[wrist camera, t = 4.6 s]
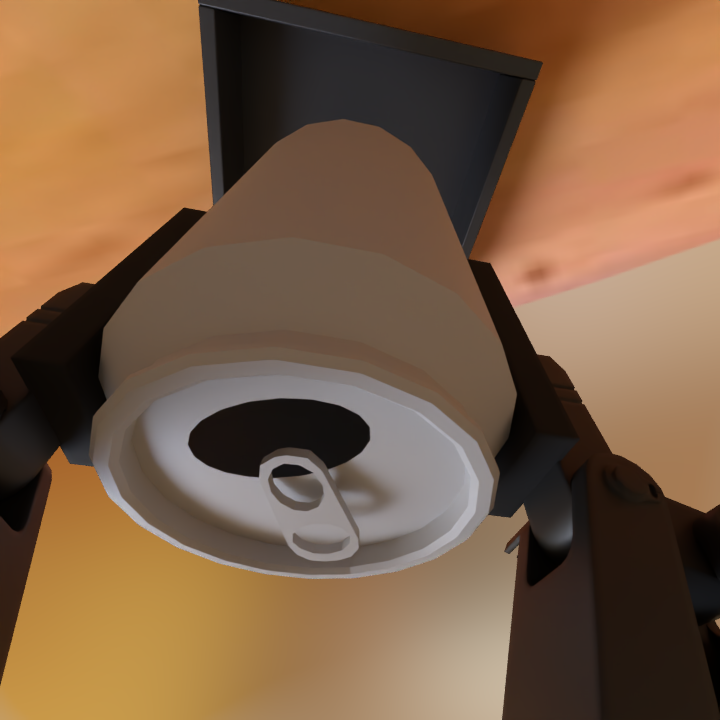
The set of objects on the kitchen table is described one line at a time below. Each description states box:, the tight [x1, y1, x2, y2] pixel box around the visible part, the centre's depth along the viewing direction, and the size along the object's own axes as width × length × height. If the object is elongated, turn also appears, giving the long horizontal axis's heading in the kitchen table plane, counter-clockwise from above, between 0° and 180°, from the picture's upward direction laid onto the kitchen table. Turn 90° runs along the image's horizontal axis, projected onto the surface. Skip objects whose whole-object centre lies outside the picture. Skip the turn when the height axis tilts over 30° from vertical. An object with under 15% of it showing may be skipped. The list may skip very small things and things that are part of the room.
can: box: [89, 119, 517, 579], centre depth 10 cm, size 8×8×12 cm
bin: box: [198, 0, 543, 259], centre depth 20 cm, size 13×13×4 cm
